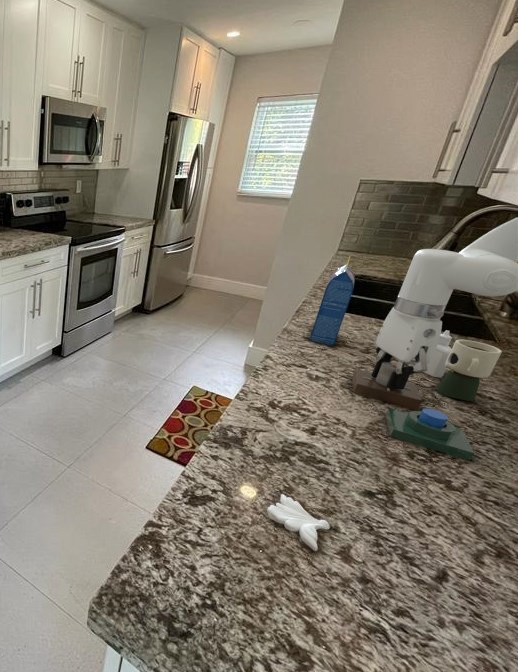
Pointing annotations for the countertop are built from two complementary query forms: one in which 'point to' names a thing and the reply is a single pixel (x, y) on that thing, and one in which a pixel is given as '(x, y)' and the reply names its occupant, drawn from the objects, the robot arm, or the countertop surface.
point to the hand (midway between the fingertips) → (386, 382)
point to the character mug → (467, 368)
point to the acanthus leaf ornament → (297, 520)
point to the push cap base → (428, 434)
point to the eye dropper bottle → (440, 356)
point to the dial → (385, 373)
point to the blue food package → (333, 306)
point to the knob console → (385, 391)
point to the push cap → (433, 418)
